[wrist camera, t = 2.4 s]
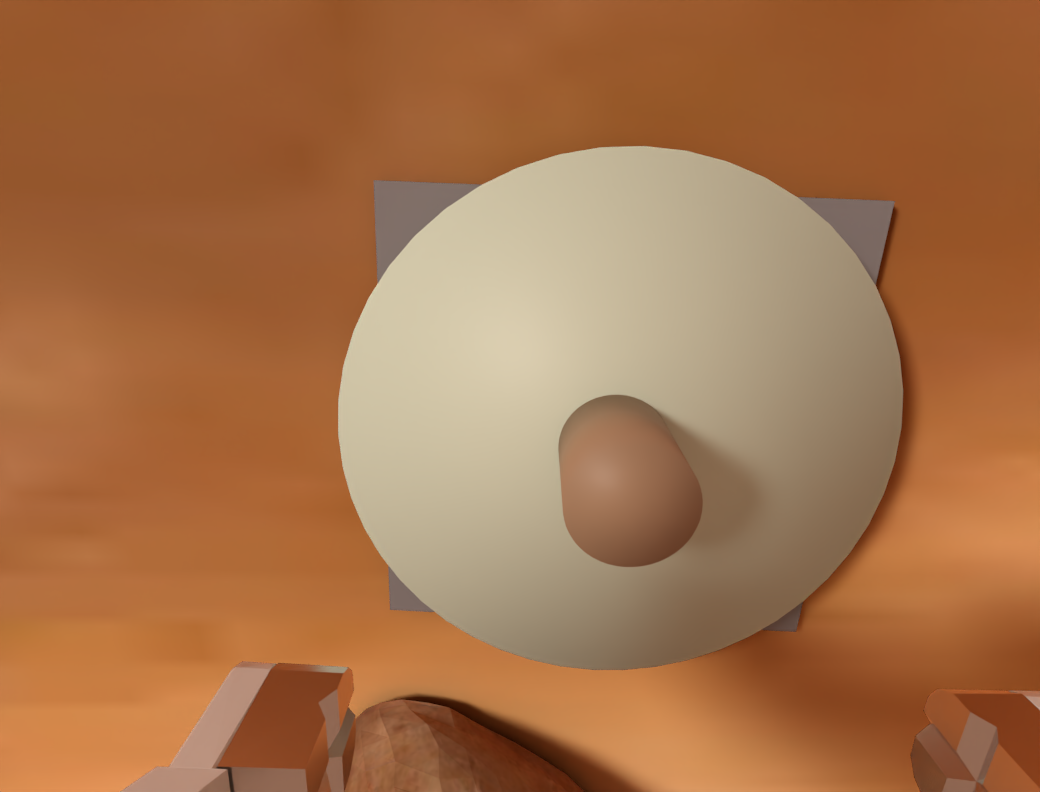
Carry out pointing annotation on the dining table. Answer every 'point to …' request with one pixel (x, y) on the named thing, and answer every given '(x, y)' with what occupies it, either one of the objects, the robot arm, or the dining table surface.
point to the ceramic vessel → (442, 754)
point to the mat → (420, 202)
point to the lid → (620, 408)
